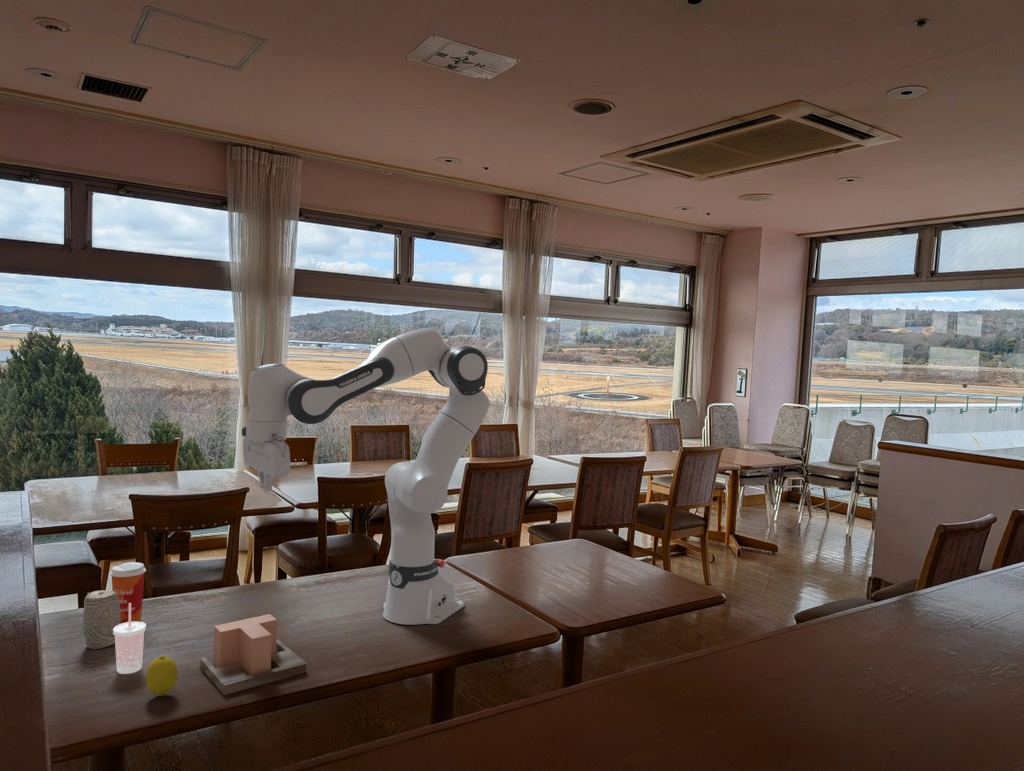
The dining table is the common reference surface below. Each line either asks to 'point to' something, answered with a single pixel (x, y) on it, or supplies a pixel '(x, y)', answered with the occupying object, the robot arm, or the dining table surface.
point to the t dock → (237, 680)
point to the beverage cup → (129, 645)
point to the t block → (246, 644)
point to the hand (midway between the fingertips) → (265, 489)
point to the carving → (100, 618)
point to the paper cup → (129, 589)
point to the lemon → (161, 675)
